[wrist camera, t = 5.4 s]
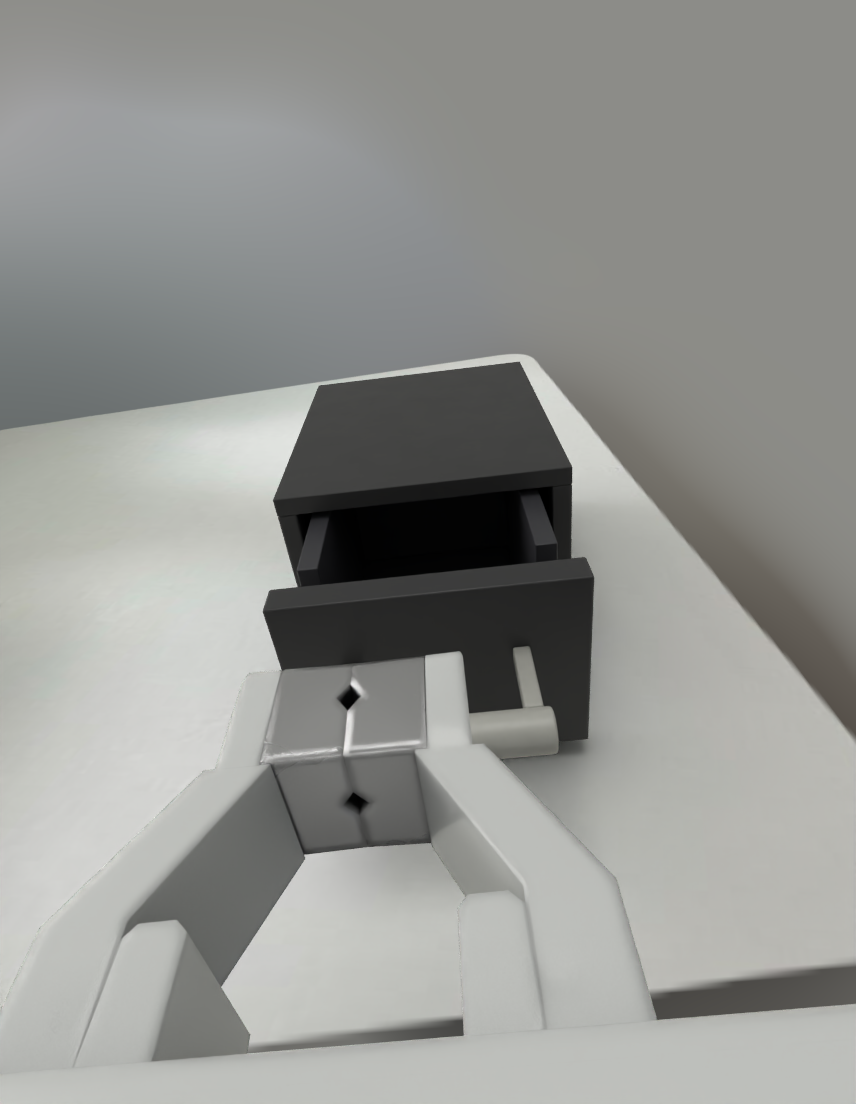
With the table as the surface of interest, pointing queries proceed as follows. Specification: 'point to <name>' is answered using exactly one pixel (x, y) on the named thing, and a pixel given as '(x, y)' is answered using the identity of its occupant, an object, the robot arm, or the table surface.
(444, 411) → the dark grey drawer cabinet
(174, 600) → the table surface
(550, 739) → the black drawer
